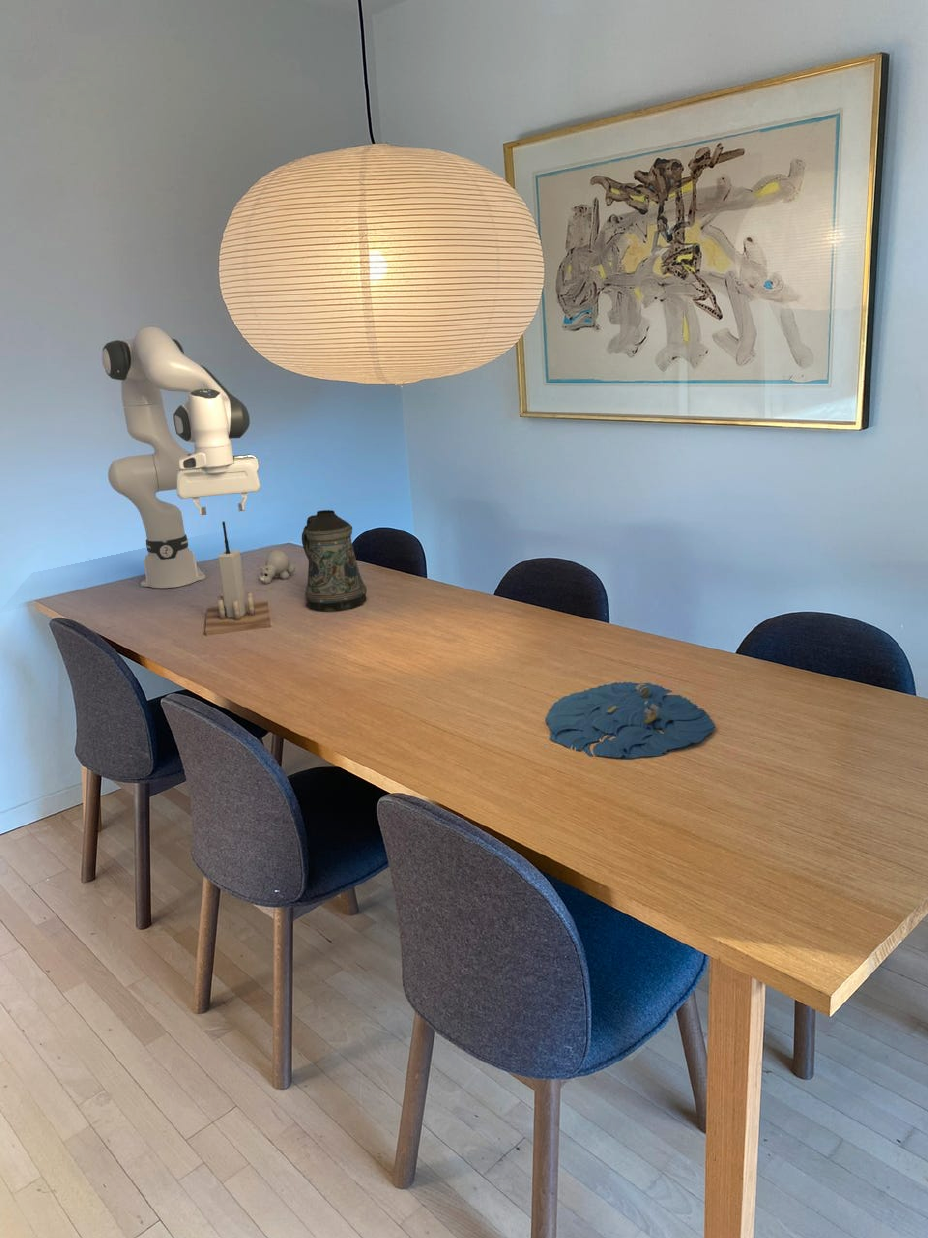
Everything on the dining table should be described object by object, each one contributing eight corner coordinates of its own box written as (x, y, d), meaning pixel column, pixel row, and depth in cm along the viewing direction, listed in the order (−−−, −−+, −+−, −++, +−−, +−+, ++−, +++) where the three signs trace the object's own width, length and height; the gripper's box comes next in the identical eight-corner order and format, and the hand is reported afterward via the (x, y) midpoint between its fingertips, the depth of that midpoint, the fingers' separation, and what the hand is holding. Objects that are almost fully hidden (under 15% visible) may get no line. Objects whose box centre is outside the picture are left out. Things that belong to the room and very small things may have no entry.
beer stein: (350, 614, 231) (340, 519, 223) (285, 610, 238) (273, 518, 230) (377, 595, 246) (369, 506, 238) (315, 592, 252) (305, 505, 245)
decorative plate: (697, 781, 142) (698, 752, 140) (521, 752, 154) (520, 725, 152) (727, 702, 167) (729, 676, 165) (574, 682, 179) (573, 658, 177)
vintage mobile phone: (248, 612, 234) (235, 518, 226) (241, 618, 229) (227, 522, 222) (235, 612, 235) (221, 518, 227) (227, 618, 230) (213, 523, 222)
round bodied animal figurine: (258, 591, 267) (246, 568, 263) (283, 567, 275) (271, 544, 270) (275, 593, 263) (263, 570, 259) (300, 569, 271) (288, 546, 266)
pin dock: (207, 612, 240) (204, 590, 238) (267, 604, 244) (265, 582, 242) (205, 635, 222) (202, 611, 220) (270, 626, 225) (267, 603, 223)
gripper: (257, 451, 225) (264, 506, 229) (173, 459, 220) (181, 514, 225) (257, 455, 219) (265, 510, 223) (171, 462, 214) (180, 519, 219)
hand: (222, 512), depth 224 cm, fingers open, 8 cm apart
